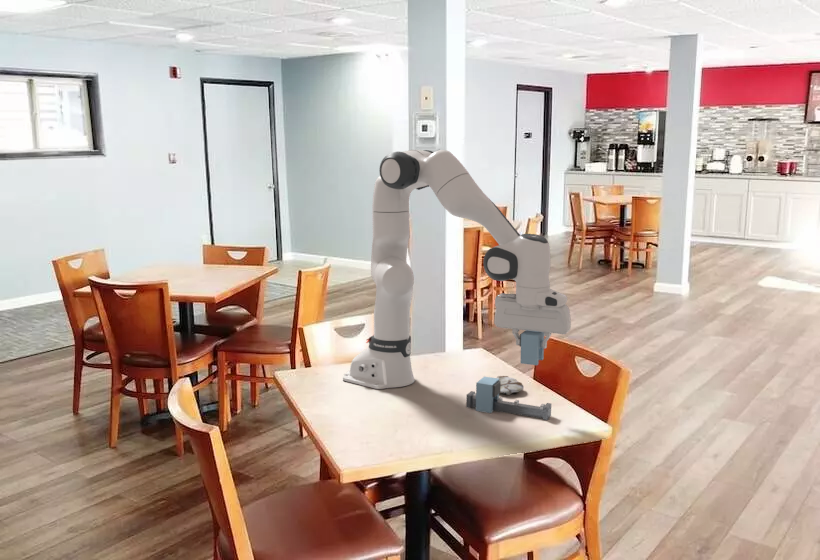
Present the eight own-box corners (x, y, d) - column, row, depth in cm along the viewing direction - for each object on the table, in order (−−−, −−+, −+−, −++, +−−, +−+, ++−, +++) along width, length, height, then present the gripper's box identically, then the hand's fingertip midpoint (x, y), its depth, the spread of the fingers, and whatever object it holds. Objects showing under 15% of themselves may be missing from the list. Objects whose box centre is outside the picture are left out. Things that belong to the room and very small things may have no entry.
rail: (466, 407, 210) (466, 394, 210) (470, 403, 214) (471, 391, 213) (547, 420, 201) (547, 407, 200) (550, 416, 204) (551, 403, 203)
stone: (528, 396, 220) (528, 385, 220) (499, 398, 218) (499, 387, 218) (513, 383, 232) (514, 373, 231) (485, 385, 230) (485, 375, 229)
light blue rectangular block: (475, 410, 208) (476, 382, 206) (483, 403, 213) (484, 376, 212) (493, 413, 206) (494, 385, 204) (500, 406, 211) (501, 378, 210)
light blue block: (518, 363, 200) (518, 334, 199) (525, 356, 206) (525, 328, 204) (536, 365, 198) (537, 336, 196) (543, 358, 204) (544, 330, 202)
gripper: (491, 294, 200) (490, 344, 203) (567, 301, 191) (565, 353, 194) (499, 290, 206) (498, 339, 208) (573, 296, 197) (571, 347, 199)
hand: (531, 346), depth 201 cm, fingers closed on light blue block, 5 cm apart
